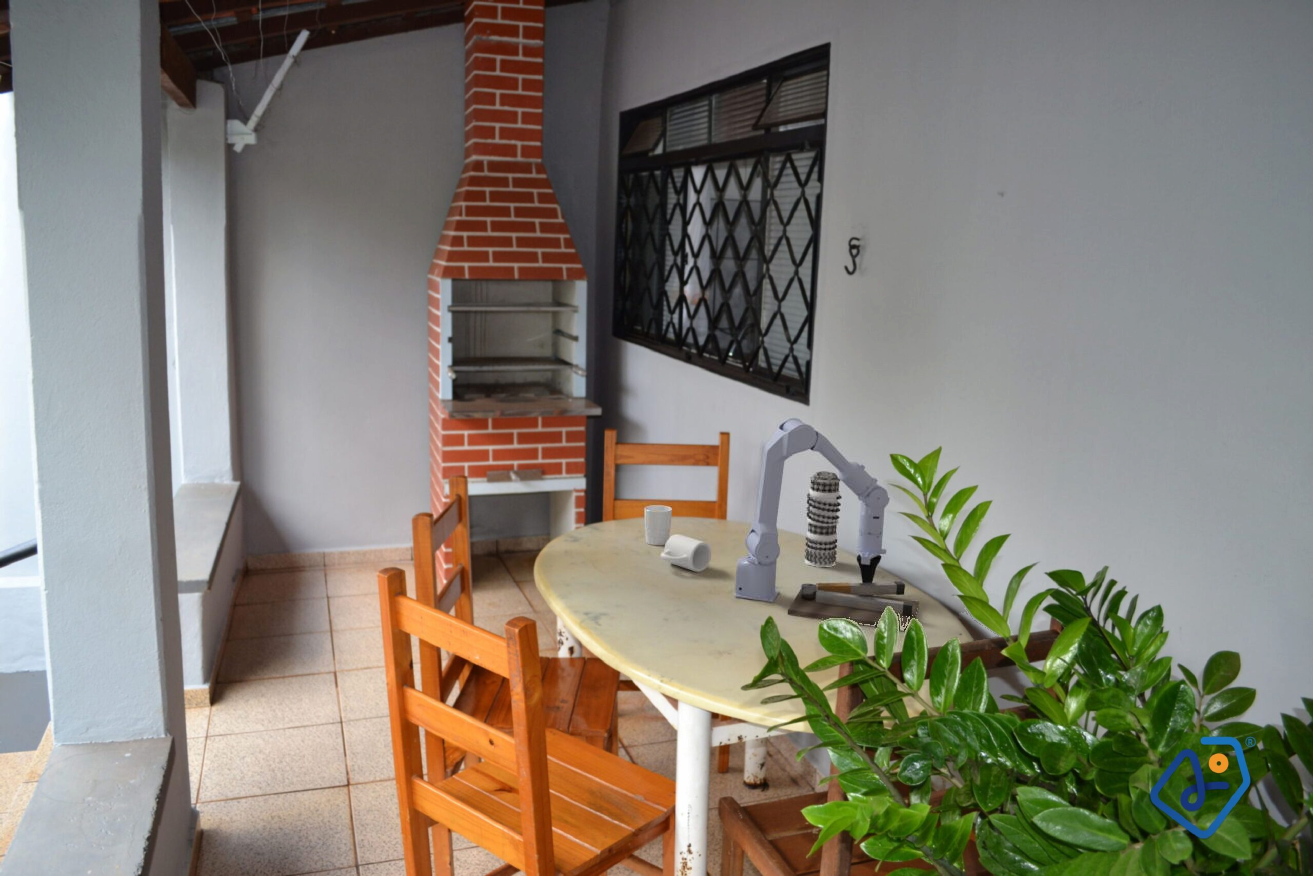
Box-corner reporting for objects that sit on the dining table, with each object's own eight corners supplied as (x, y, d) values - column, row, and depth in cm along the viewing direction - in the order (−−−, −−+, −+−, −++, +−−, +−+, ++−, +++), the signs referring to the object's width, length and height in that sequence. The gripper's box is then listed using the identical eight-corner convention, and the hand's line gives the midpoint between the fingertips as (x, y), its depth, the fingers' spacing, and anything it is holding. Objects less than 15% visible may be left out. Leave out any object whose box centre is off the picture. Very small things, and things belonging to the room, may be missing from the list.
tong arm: (803, 600, 231) (803, 588, 231) (798, 594, 235) (798, 583, 235) (907, 597, 235) (908, 586, 235) (900, 591, 239) (901, 580, 239)
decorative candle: (820, 556, 271) (825, 468, 267) (844, 565, 264) (850, 474, 259) (796, 561, 266) (800, 471, 262) (819, 570, 259) (825, 478, 254)
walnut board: (787, 614, 226) (787, 609, 226) (802, 590, 243) (803, 585, 243) (911, 632, 217) (912, 627, 217) (918, 606, 234) (919, 601, 234)
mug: (684, 559, 265) (684, 531, 263) (711, 568, 258) (712, 539, 257) (652, 568, 257) (653, 539, 255) (679, 578, 250) (680, 548, 248)
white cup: (676, 541, 282) (677, 507, 280) (661, 547, 275) (662, 513, 273) (653, 536, 286) (653, 503, 284) (638, 542, 279) (638, 509, 277)
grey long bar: (815, 602, 231) (816, 592, 230) (817, 600, 232) (817, 590, 232) (911, 616, 223) (912, 605, 223) (912, 613, 225) (912, 603, 225)
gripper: (884, 541, 232) (880, 595, 234) (890, 526, 245) (887, 577, 248) (854, 537, 234) (850, 591, 237) (862, 522, 248) (859, 574, 250)
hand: (867, 584), depth 243 cm, fingers closed
